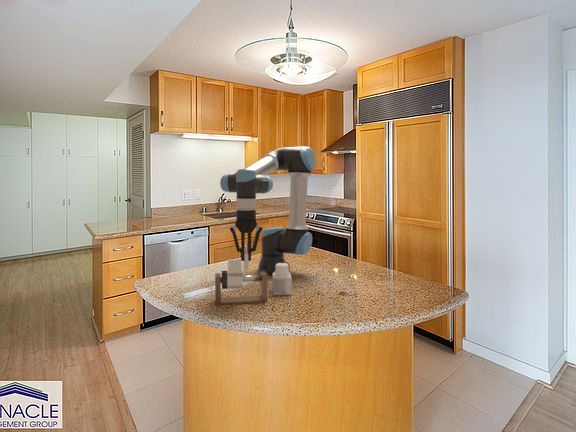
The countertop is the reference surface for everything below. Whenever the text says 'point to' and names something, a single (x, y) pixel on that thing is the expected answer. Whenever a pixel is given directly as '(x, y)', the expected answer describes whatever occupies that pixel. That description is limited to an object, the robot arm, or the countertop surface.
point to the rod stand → (242, 299)
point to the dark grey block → (224, 279)
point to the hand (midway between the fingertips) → (246, 268)
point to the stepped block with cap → (234, 274)
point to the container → (281, 279)
